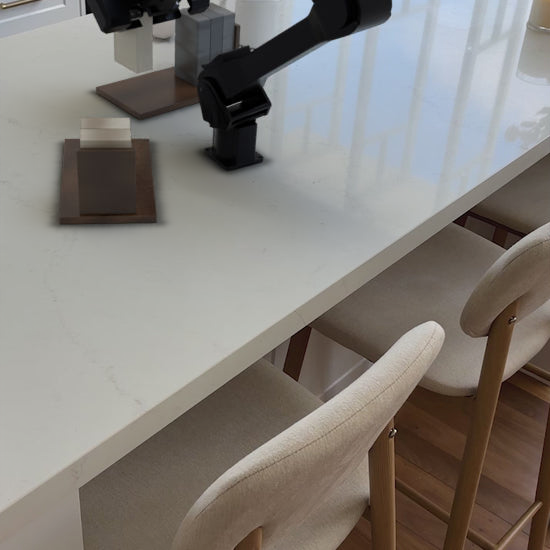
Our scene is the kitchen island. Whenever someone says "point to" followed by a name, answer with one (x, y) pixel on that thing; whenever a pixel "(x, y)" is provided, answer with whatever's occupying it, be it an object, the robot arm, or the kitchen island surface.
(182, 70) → the bookend
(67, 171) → the brown wooden stand
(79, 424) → the kitchen island surface
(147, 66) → the white book
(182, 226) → the kitchen island surface
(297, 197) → the kitchen island surface
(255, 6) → the mug
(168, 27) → the egg
